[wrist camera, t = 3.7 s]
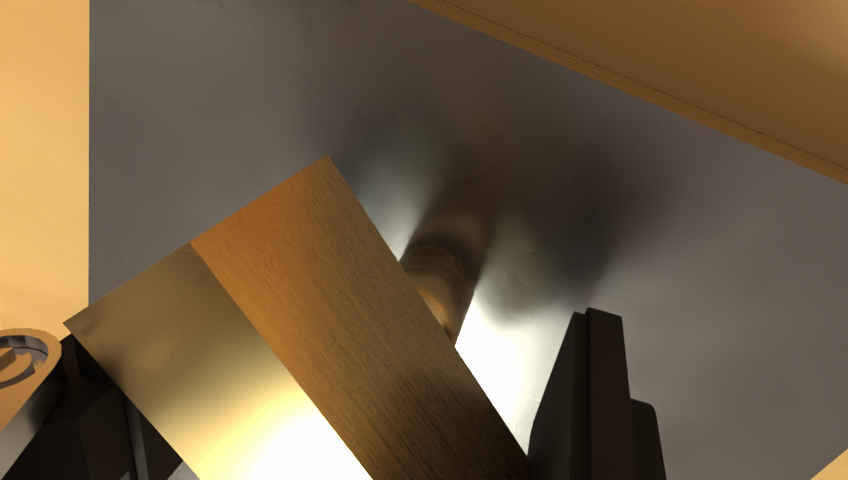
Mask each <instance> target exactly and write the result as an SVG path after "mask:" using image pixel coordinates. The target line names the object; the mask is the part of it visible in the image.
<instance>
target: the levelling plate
mask: <svg viewBox="0 0 848 480" xmlns="http://www.w3.org/2000/svg"><path fill="white" fill-rule="evenodd" d="M326 154H328V156H329V157H330V159H331V160H332V162H333V163H334V165H335V166H336V168H337V169H338V171H339V172H340V174H341V175H342V177H343V178H344V180H345V181H346V183H347V184H348V186H349V187H350V189H351V190H352V192H353V193H354V195H355V196H356V198H357V199H358V201H359V202H360V204H361V205H362V207H363V208H364V210H365V212H366V213H367V215H368V216H369V218H370V219H371V221H372V222H373V224H374V225H375V227H376V228H377V230H378V231H379V233H380V234H381V236H382V237H383V239H384V240H385V242H386V243H387V245H388V246H389V248H390V249H391V251H392V252H393V254H394V255H395V257H396V258H397V260H398V261H399V259H400V258H401V257H402V256H403V255H404V254H405V253H407V252H408V251H410V250H412V249H414V248H418V247H423V246H433V247H439V248H443V249H445V250H448V251H450V252H451V253H453V254H455V255H456V256H458V257H459V258H460V259H461V260H462V261H463V262H464V263H465V264H466V266H467V267H468V268H469V270H470V272H471V274H472V277H473V280H474V296H473V299H472V302H471V304H470V307H469V310H468V313H467V315H466V318H465V321H464V323H463V326H462V329H461V332H460V334H459V337H458V340H457V342H456V345H455V348H456V349H457V351H458V352H459V354H460V355H461V357H462V358H463V360H464V361H465V363H466V364H467V366H468V367H469V369H470V370H471V372H472V373H473V375H474V376H475V378H476V379H477V381H478V383H479V384H480V386H481V387H482V389H483V390H484V392H485V393H486V395H487V396H488V398H489V399H490V401H491V402H492V404H493V405H494V407H495V408H496V410H497V411H498V413H499V414H500V416H501V417H502V419H503V420H504V422H505V423H506V425H507V426H508V428H509V429H510V431H511V432H512V434H513V435H514V437H515V439H516V440H517V442H518V443H519V445H520V446H521V448H522V449H523V451H524V452H525V454H526V455H527V454H528V446H529V438H530V433H531V429H532V425H533V421H534V418H535V415H536V412H537V410H538V407H539V404H540V402H541V399H542V396H543V393H544V391H545V388H546V385H547V382H548V380H549V377H550V374H551V371H552V369H553V366H554V363H555V360H556V358H557V355H558V352H559V349H560V347H561V344H562V341H563V338H564V336H565V333H566V330H567V328H568V325H569V322H570V319H571V317H572V314H573V313H574V312H579V313H582V314H585V311H586V310H587V308H588V307H591V308H595V309H598V310H602V311H605V312H609V313H612V314H616V315H619V316H621V317H622V322H623V332H624V341H625V351H626V361H627V370H628V380H629V389H630V398H632V399H636V400H639V401H642V402H645V403H648V404H651V405H652V406H653V407H654V409H655V412H656V416H657V422H658V429H659V435H660V441H661V447H662V453H663V460H664V466H665V472H666V478H667V480H810V479H812V478H813V477H814V476H815V475H816V474H818V473H819V472H820V471H821V470H822V469H824V468H825V467H826V466H827V465H828V464H830V463H831V462H832V461H833V460H834V459H836V458H837V457H838V456H839V455H841V454H842V453H843V452H844V451H845V450H847V449H848V170H847V169H845V168H842V167H840V166H837V165H835V164H833V163H830V162H828V161H825V160H823V159H821V158H818V157H816V156H813V155H811V154H808V153H806V152H804V151H801V150H799V149H796V148H794V147H792V146H789V145H787V144H784V143H782V142H780V141H777V140H775V139H772V138H770V137H768V136H765V135H763V134H760V133H758V132H755V131H753V130H751V129H748V128H746V127H743V126H741V125H739V124H736V123H734V122H731V121H729V120H727V119H724V118H722V117H719V116H717V115H714V114H712V113H710V112H707V111H705V110H702V109H700V108H698V107H695V106H693V105H690V104H688V103H686V102H683V101H681V100H678V99H676V98H674V97H671V96H669V95H666V94H664V93H661V92H659V91H657V90H654V89H652V88H649V87H647V86H645V85H642V84H640V83H637V82H635V81H633V80H630V79H628V78H625V77H623V76H620V75H618V74H616V73H613V72H611V71H608V70H606V69H604V68H601V67H599V66H596V65H594V64H592V63H589V62H587V61H584V60H582V59H580V58H577V57H575V56H572V55H570V54H567V53H565V52H563V51H560V50H558V49H555V48H553V47H551V46H548V45H546V44H543V43H541V42H539V41H536V40H534V39H531V38H529V37H527V36H524V35H522V34H519V33H517V32H514V31H512V30H510V29H507V28H505V27H502V26H500V25H498V24H495V23H493V22H490V21H488V20H486V19H483V18H481V17H478V16H476V15H473V14H471V13H469V12H466V11H464V10H461V9H459V8H457V7H454V6H452V5H449V4H447V3H445V2H442V1H440V0H90V29H89V306H90V305H91V304H93V303H94V302H96V301H97V300H99V299H101V298H102V297H104V296H105V295H107V294H108V293H110V292H111V291H113V290H115V289H116V288H118V287H119V286H121V285H122V284H124V283H126V282H127V281H129V280H130V279H132V278H133V277H135V276H136V275H138V274H140V273H141V272H143V271H144V270H146V269H147V268H149V267H151V266H152V265H154V264H155V263H157V262H158V261H160V260H161V259H163V258H165V257H166V256H168V255H169V254H171V253H172V252H174V251H175V250H177V249H179V248H180V247H182V246H183V245H185V244H186V243H188V242H190V241H191V240H193V239H194V238H196V237H197V236H199V235H200V234H202V233H204V232H205V231H207V230H208V229H210V228H211V227H213V226H215V225H216V224H218V223H219V222H221V221H222V220H224V219H225V218H227V217H229V216H230V215H232V214H233V213H235V212H236V211H238V210H240V209H241V208H243V207H244V206H246V205H247V204H249V203H251V202H252V201H254V200H255V199H257V198H258V197H260V196H262V195H263V194H265V193H266V192H268V191H269V190H271V189H273V188H274V187H276V186H277V185H279V184H280V183H282V182H283V181H285V180H287V179H288V178H290V177H291V176H293V175H294V174H296V173H298V172H299V171H301V170H302V169H304V168H305V167H307V166H309V165H310V164H312V163H313V162H315V161H316V160H318V159H320V158H321V157H323V156H324V155H326ZM168 480H200V478H199V477H198V476H197V475H196V474H195V473H194V472H193V470H192V469H191V468H190V467H189V466H188V465H187V464H186V462H185V461H183V462H182V463H181V464H180V466H179V467H178V468H177V469H176V470H175V471H174V473H173V474H172V475H171V476H170V477H169V478H168Z"/></svg>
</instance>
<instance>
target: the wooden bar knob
mask: <svg viewBox="0 0 848 480" xmlns="http://www.w3.org/2000/svg"><path fill="white" fill-rule="evenodd" d="M473 296H474V280H473V277H472V274H471V272H470V270H469V268H468V267H467V266H466V264H465V263H464V262H463V261H462V260H461V259H460V258H459V257H458V256H456V255H455V254H453V253H451V252H450V251H448V250H445V249H443V248H439V247H433V246H423V247H418V248H414V249H412V250H410V251H408V252H407V253H405V254H404V255H403V256H402V257H401V258H400V259H399V261H398V260H397V258H396V257H395V255H394V254H393V252H392V251H391V249H390V248H389V246H388V245H387V243H386V242H385V240H384V239H383V237H382V236H381V234H380V233H379V231H378V230H377V228H376V227H375V225H374V224H373V222H372V221H371V219H370V218H369V216H368V215H367V213H366V212H365V210H364V208H363V207H362V205H361V204H360V202H359V201H358V199H357V198H356V196H355V195H354V193H353V192H352V190H351V189H350V187H349V186H348V184H347V183H346V181H345V180H344V178H343V177H342V175H341V174H340V172H339V171H338V169H337V168H336V166H335V165H334V163H333V162H332V160H331V159H330V157H329V156H328V154H326V155H324V156H323V157H321V158H320V159H318V160H316V161H315V162H313V163H312V164H310V165H309V166H307V167H305V168H304V169H302V170H301V171H299V172H298V173H296V174H294V175H293V176H291V177H290V178H288V179H287V180H285V181H283V182H282V183H280V184H279V185H277V186H276V187H274V188H273V189H271V190H269V191H268V192H266V193H265V194H263V195H262V196H260V197H258V198H257V199H255V200H254V201H252V202H251V203H249V204H247V205H246V206H244V207H243V208H241V209H240V210H238V211H236V212H235V213H233V214H232V215H230V216H229V217H227V218H225V219H224V220H222V221H221V222H219V223H218V224H216V225H215V226H213V227H211V228H210V229H208V230H207V231H205V232H204V233H202V234H200V235H199V236H197V237H196V238H194V239H193V240H191V241H190V242H188V243H186V244H185V245H183V246H182V247H180V248H179V249H177V250H175V251H174V252H172V253H171V254H169V255H168V256H166V257H165V258H163V259H161V260H160V261H158V262H157V263H155V264H154V265H152V266H151V267H149V268H147V269H146V270H144V271H143V272H141V273H140V274H138V275H136V276H135V277H133V278H132V279H130V280H129V281H127V282H126V283H124V284H122V285H121V286H119V287H118V288H116V289H115V290H113V291H111V292H110V293H108V294H107V295H105V296H104V297H102V298H101V299H99V300H97V301H96V302H94V303H93V304H91V305H90V306H88V307H86V308H85V309H83V310H82V311H80V312H79V313H77V314H76V315H74V316H72V317H71V318H69V319H68V320H66V321H65V322H63V324H64V325H65V326H66V327H67V328H68V329H69V331H70V332H71V333H72V334H73V335H74V336H75V337H76V339H77V340H78V341H79V342H80V343H81V344H82V345H83V347H84V348H85V349H86V350H87V351H88V352H89V353H90V354H91V356H92V357H93V358H94V359H95V360H96V361H97V362H98V364H99V365H100V366H101V367H102V368H103V369H104V370H105V372H106V373H107V374H108V375H109V376H110V377H111V378H112V379H113V381H114V382H115V383H116V384H117V385H118V386H119V387H120V389H121V390H122V391H123V392H124V393H125V394H126V395H127V397H128V398H129V399H130V400H131V401H132V402H133V403H134V404H135V406H136V407H137V408H138V409H139V410H140V411H141V412H142V414H143V415H144V416H145V417H146V418H147V419H148V420H149V422H150V423H151V424H152V425H153V426H154V427H155V428H156V429H157V431H158V432H159V433H160V434H161V435H162V436H163V437H164V439H165V440H166V441H167V442H168V443H169V444H170V445H171V447H172V448H173V449H174V450H175V451H176V452H177V453H178V454H179V456H180V457H181V458H182V459H183V460H184V461H185V462H186V464H187V465H188V466H189V467H190V468H191V469H192V470H193V472H194V473H195V474H196V475H197V476H198V477H199V478H200V480H527V478H528V470H529V462H530V460H529V458H528V457H527V455H526V454H525V452H524V451H523V449H522V448H521V446H520V445H519V443H518V442H517V440H516V439H515V437H514V435H513V434H512V432H511V431H510V429H509V428H508V426H507V425H506V423H505V422H504V420H503V419H502V417H501V416H500V414H499V413H498V411H497V410H496V408H495V407H494V405H493V404H492V402H491V401H490V399H489V398H488V396H487V395H486V393H485V392H484V390H483V389H482V387H481V386H480V384H479V383H478V381H477V379H476V378H475V376H474V375H473V373H472V372H471V370H470V369H469V367H468V366H467V364H466V363H465V361H464V360H463V358H462V357H461V355H460V354H459V352H458V351H457V349H456V348H455V345H456V342H457V340H458V337H459V334H460V332H461V329H462V326H463V323H464V321H465V318H466V315H467V313H468V310H469V307H470V304H471V302H472V299H473Z"/></svg>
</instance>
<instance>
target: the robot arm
mask: <svg viewBox="0 0 848 480" xmlns="http://www.w3.org/2000/svg"><path fill="white" fill-rule="evenodd" d="M527 457H528V458H529V460H530V462H529V470H528V478H527V480H667V478H666V472H665V466H664V460H663V453H662V447H661V441H660V435H659V429H658V422H657V416H656V412H655V409H654V407H653V406H652V405H651V404H648V403H645V402H642V401H639V400H636V399H632V398H630V389H629V380H628V370H627V361H626V351H625V341H624V332H623V322H622V317H621V316H619V315H616V314H612V313H609V312H605V311H602V310H598V309H595V308H591V307H588V308H587V310H586V311H585V314H582V313H579V312H574V313H573V314H572V317H571V319H570V322H569V325H568V328H567V330H566V333H565V336H564V338H563V341H562V344H561V347H560V349H559V352H558V355H557V358H556V360H555V363H554V366H553V369H552V371H551V374H550V377H549V380H548V382H547V385H546V388H545V391H544V393H543V396H542V399H541V402H540V404H539V407H538V410H537V412H536V415H535V418H534V421H533V425H532V429H531V433H530V438H529V446H528V454H527ZM183 461H184V460H183V459H182V458H181V457H180V456H179V454H178V453H177V452H176V451H175V450H174V449H173V448H172V447H171V445H170V444H169V443H168V442H167V441H166V440H165V439H164V437H163V436H162V435H161V434H160V433H159V432H158V431H157V429H156V428H155V427H154V426H153V425H152V424H151V423H150V422H149V420H148V419H147V418H146V417H145V416H144V415H143V414H142V412H141V411H140V410H139V409H138V408H137V407H136V406H135V404H134V403H133V402H132V401H131V400H130V399H129V398H128V397H127V395H126V394H125V393H124V392H123V391H122V390H121V389H120V387H119V386H118V385H117V384H116V383H115V382H114V381H113V379H112V378H111V377H110V376H109V375H108V374H107V373H106V372H105V370H104V369H103V368H102V367H101V366H100V365H99V364H98V362H97V361H96V360H95V359H94V358H93V357H92V356H91V354H90V353H89V352H88V351H87V350H86V349H85V348H84V347H83V345H82V344H81V343H80V342H79V341H78V340H77V339H76V337H75V336H74V335H73V334H72V333H71V334H70V335H68V336H67V337H65V338H64V339H62V340H61V341H58V339H57V338H56V337H55V336H53V335H51V334H49V333H47V332H46V331H41V330H36V329H31V328H13V329H7V330H1V331H0V480H168V478H169V477H170V476H171V475H172V474H173V473H174V471H175V470H176V469H177V468H178V467H179V466H180V464H181V463H182V462H183Z"/></svg>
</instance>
